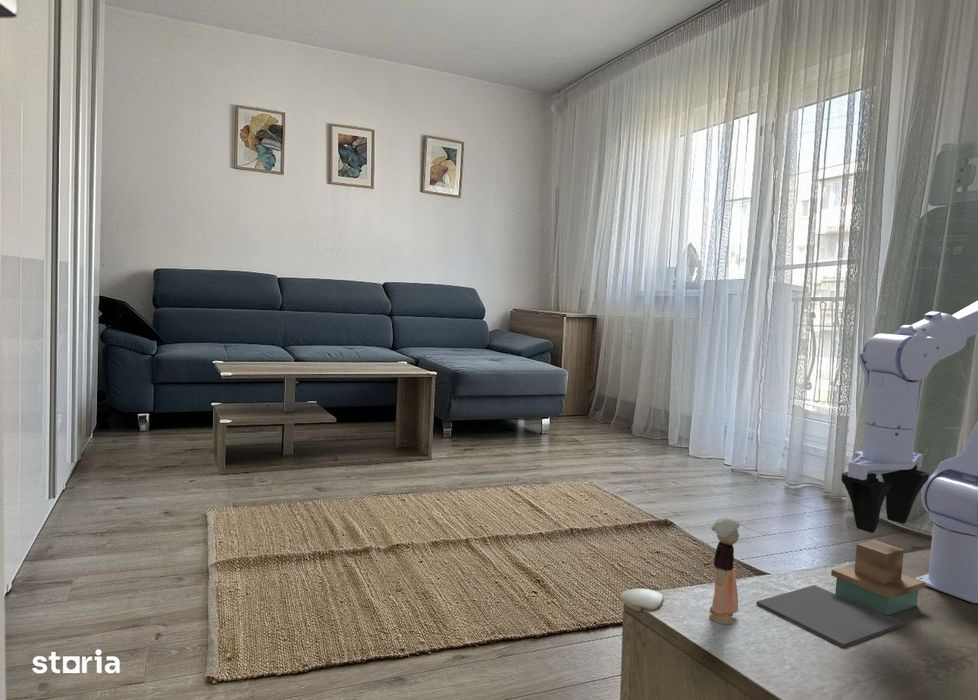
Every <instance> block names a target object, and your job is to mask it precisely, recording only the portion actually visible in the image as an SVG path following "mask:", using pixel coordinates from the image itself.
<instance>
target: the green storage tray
mask: <svg viewBox="0 0 978 700" xmlns="http://www.w3.org/2000/svg"><path fill="white" fill-rule="evenodd" d="M835 580H836V583H835V591H834V594H836V595H839V596H841V597H843V598H846V599H848V600H850V601H853V602H855V603H857V604H860V605H862V606H864V607H867V608H869V609H871V610H874V611H876V612H878V613H881V614H883V615H885V616H891V615H893V614H895V613H898V612H902V611H904V610H907V609H910V608H913V607H916V606H917V605H918V598H919V597H918V596H919V590H916V591H913V592H910V593H907V594H904V595H901V596H898V597H895V598H892V599H888V598H886V597H883V596H881V595H879V594H876V593H874V592H871V591H869V590H866V589H864V588H861V587H859V586H856V585H854V584H851V583H849V582H846V581H844V580H842V579H839V578H837V577H836V579H835Z"/></svg>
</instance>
